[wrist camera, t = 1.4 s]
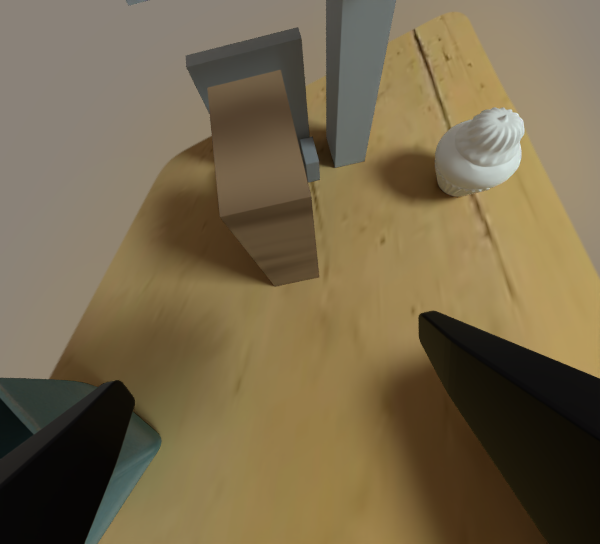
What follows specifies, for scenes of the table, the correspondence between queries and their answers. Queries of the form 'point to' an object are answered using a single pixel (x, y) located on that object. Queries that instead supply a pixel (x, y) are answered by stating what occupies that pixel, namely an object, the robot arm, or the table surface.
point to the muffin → (479, 152)
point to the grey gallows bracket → (289, 59)
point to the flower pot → (52, 403)
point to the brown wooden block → (263, 176)
